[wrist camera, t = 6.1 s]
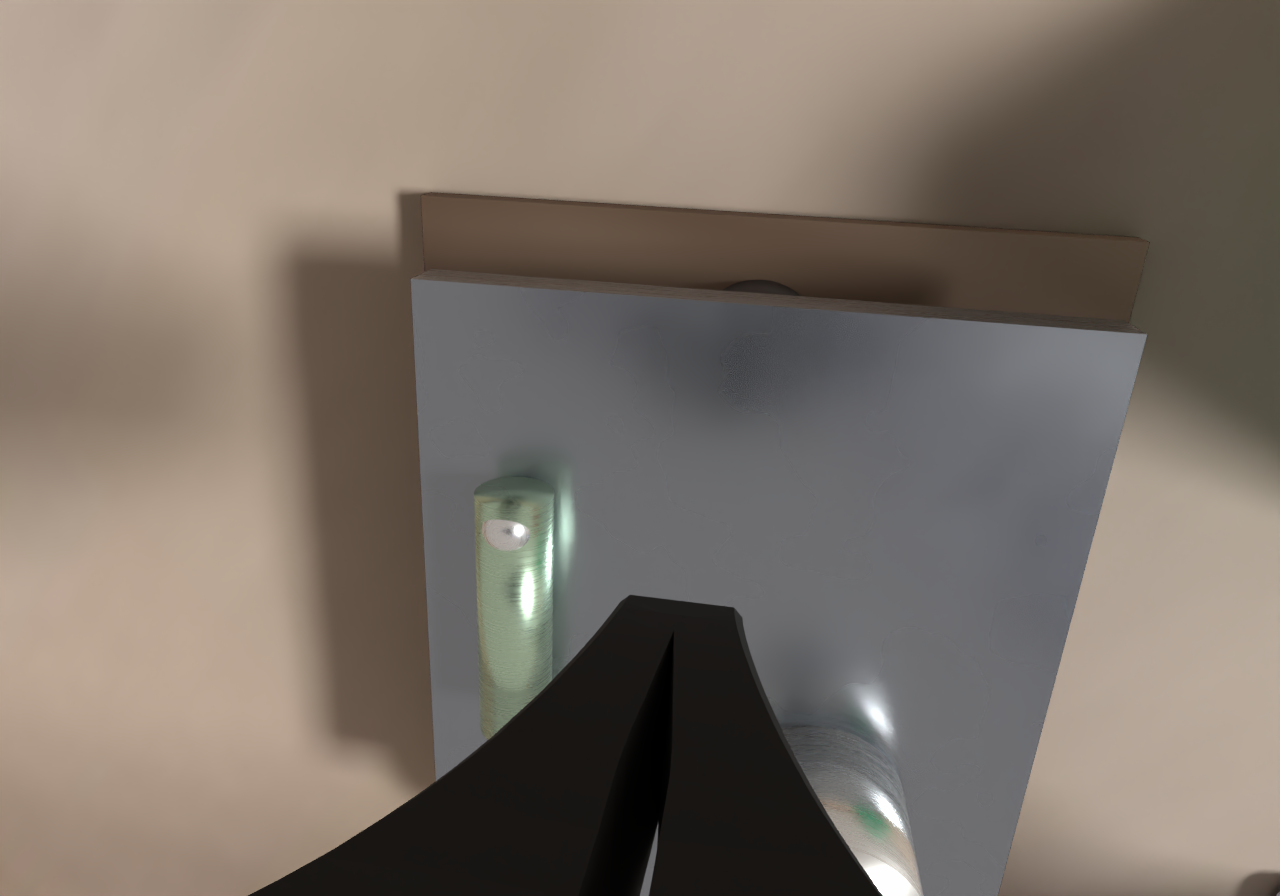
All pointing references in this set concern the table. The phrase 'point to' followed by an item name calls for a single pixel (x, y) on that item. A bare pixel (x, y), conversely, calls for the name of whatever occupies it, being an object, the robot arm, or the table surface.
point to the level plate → (776, 524)
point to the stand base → (786, 254)
